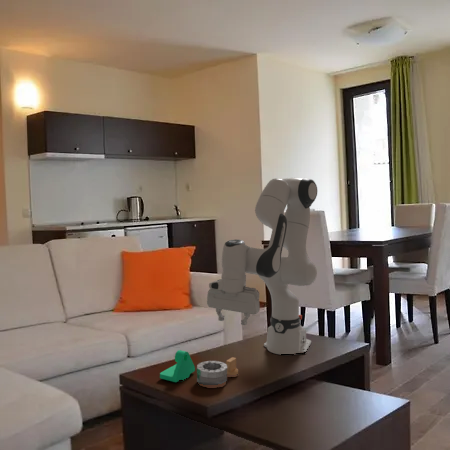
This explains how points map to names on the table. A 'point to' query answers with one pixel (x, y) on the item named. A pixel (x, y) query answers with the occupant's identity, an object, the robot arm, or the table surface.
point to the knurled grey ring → (211, 373)
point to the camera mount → (179, 368)
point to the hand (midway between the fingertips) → (232, 322)
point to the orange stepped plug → (231, 366)
